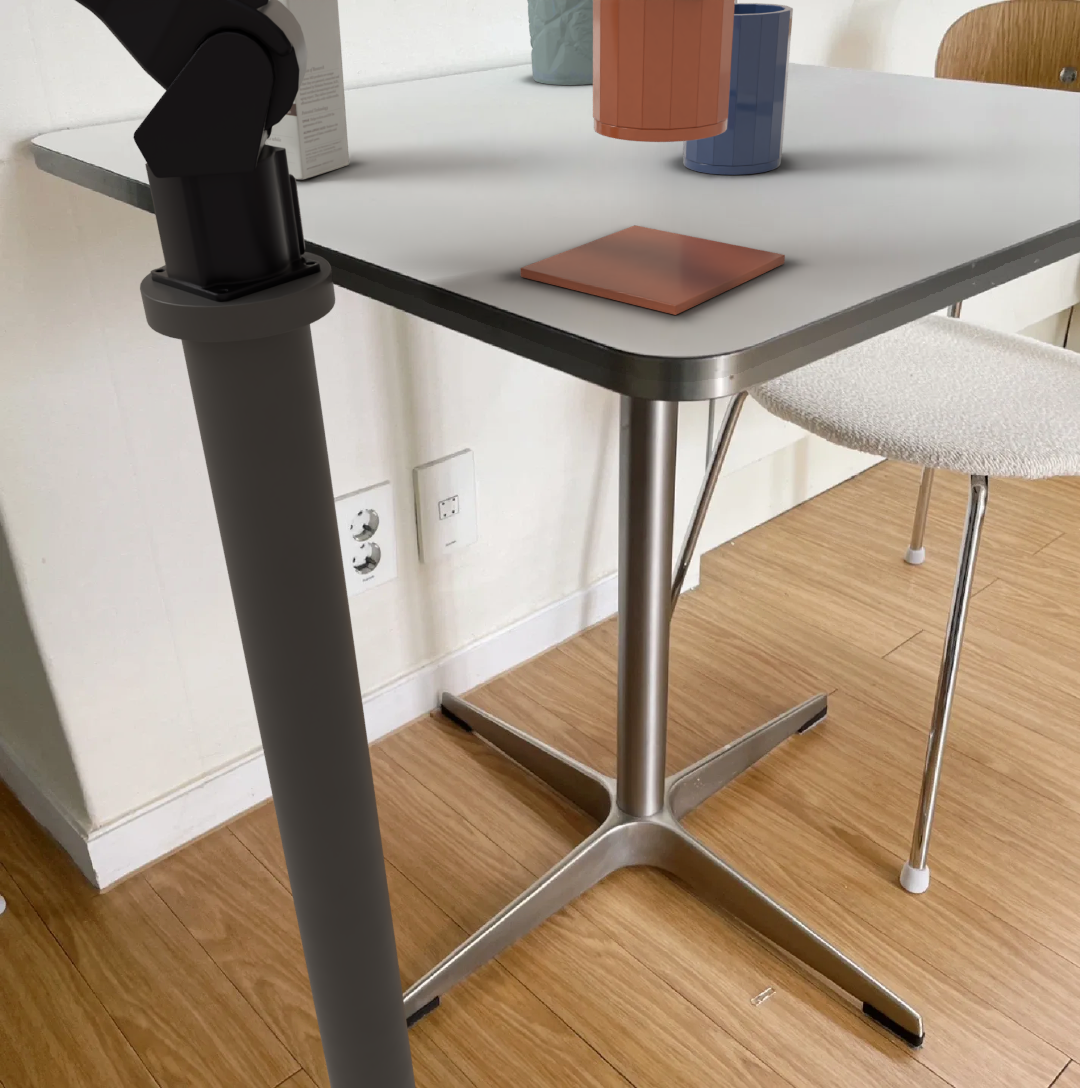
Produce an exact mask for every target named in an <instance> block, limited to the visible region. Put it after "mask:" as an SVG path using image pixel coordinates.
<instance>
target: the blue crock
mask: <svg viewBox="0 0 1080 1088" xmlns="http://www.w3.org/2000/svg"><path fill="white" fill-rule="evenodd" d="M793 14H794V8H793V7H791V6H789V5H785V4H777V3H758V2H735V7H734V24H733V41H732V58H731V75H730V92H729V109H728V125H727V130H726V131H725V132H723V133H722V134H719V135H716V136H713V137H709V138H704V139H698V140H690V141H682V155H683V158H682V159H683V160H682V161H683V162H682V163H683V166H684V167H685V168H687V169H689V170H691V171H694V172H697V173H703V174H709V175H723V176H724V175H725V176H734V175H735V176H740V175H741V176H742V175H756V174H762V173H766V172H770V171H773V170H775V169H778V168H779V167H780V166H781V163H782V155H783V145H784V134H785V133H784V131H785V119H786V105H787V93H788V92H787V91H788V80H789V65H790V54H791V53H790V52H791V39H792V27H793Z"/></svg>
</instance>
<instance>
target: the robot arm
mask: <svg viewBox="0 0 1080 1088" xmlns="http://www.w3.org/2000/svg"><path fill="white" fill-rule="evenodd" d="M74 1H75V2H77V3H78V4H79V5H81V6H82V7H84V8H85V9H87V10H88V11H89V12H91V13H92V14H93V15H94V16H95V17H96V18H98V19H99V20H100V21H101V22H102V23H103V25H105V27H106V28H107V29H108V31H110V33H111V34H112V35H113V37H115V38H116V39H117V41H118V42H119V44H121V45H122V47H123V48H124V49H125V50H126V51H127V52H128V53H129V54H130V56H131V57H132V58H133V59H134V61H135V62H136V63H137V64H138V66H140V67H141V69H142V70H143V71H144V72H145V73H146V74H147V75H148V76H150V77H151V79H153V80H154V81H155V82H156V83H157V84H158V85H160V87H161V88H163V90H165V92H164V93H163V94H162V95H161V97H160V98H159V100H157V102H156V103H155V104H154V106H153V107H152V109H151V110H150V111H149V112H148V114H147V115H146V116H145V118H144V119H143V120H142V121H141V123H140V124H139V125H138V127H137V128H136V129H135V131H134V133H133V137H132V138H133V140H134V143H135V144H136V146H137V148H138V150H139V152H140V153H141V155H142V157H143V159H144V160H145V162H146V163H145V164H144V165H145V170H146V174H147V180H148V185H149V189H150V194H151V200H152V205H153V210H154V214H155V220H156V225H157V230H158V234H159V240H160V245H161V250H162V255H163V260H164V265H166V266H164V265H163V266H164V267H162V266H160V267H161V268H160V267H157V268H153V269H152V270H151V271H150V273H151V277H152V280H153V281H155V282H158V283H161V284H164V285H167V286H171V287H174V288H177V289H180V290H183V291H186V292H189V293H192V294H195V295H198V296H201V297H204V298H207V299H210V300H213V301H216V302H228V301H231V300H234V299H238V298H241V297H244V296H247V295H250V294H253V293H256V292H259V291H262V290H265V289H268V288H272V287H275V286H278V285H281V284H284V283H287V282H290V281H293V280H296V279H299V278H302V277H306V276H309V275H312V274H315V273H318V272H320V271H321V268H320V262H318V261H315V260H312V259H308V258H304V257H301V256H300V255H303V254H304V253H305V252H306V242H305V236H304V227H303V221H302V214H301V207H300V200H299V192H298V191H299V190H298V185H297V179H296V178H295V177H294V176H293V175H291V174H289V169H288V162H287V155H286V149H285V148H281V147H276V146H271V145H265V142H266V140H267V139H268V138H269V137H270V135H271V132H272V127H273V126H274V125H276V124H277V123H279V122H280V121H281V120H282V119H283V117H284V116H285V115H286V114H287V113H288V111H289V110H290V109H291V108H292V105H293V103H294V100H295V98H296V96H297V93H298V91H299V88H300V86H301V83H302V81H303V78H304V76H305V73H306V69H307V48H306V44H305V40H304V35H303V32H302V30H301V26H300V24H299V23H298V21H297V20H296V18H295V17H294V15H293V14H292V13H291V12H290V11H289V10H288V9H287V8H286V7H285V6H284V5H283V4H282V3H281V2H280V1H278V0H74Z"/></svg>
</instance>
